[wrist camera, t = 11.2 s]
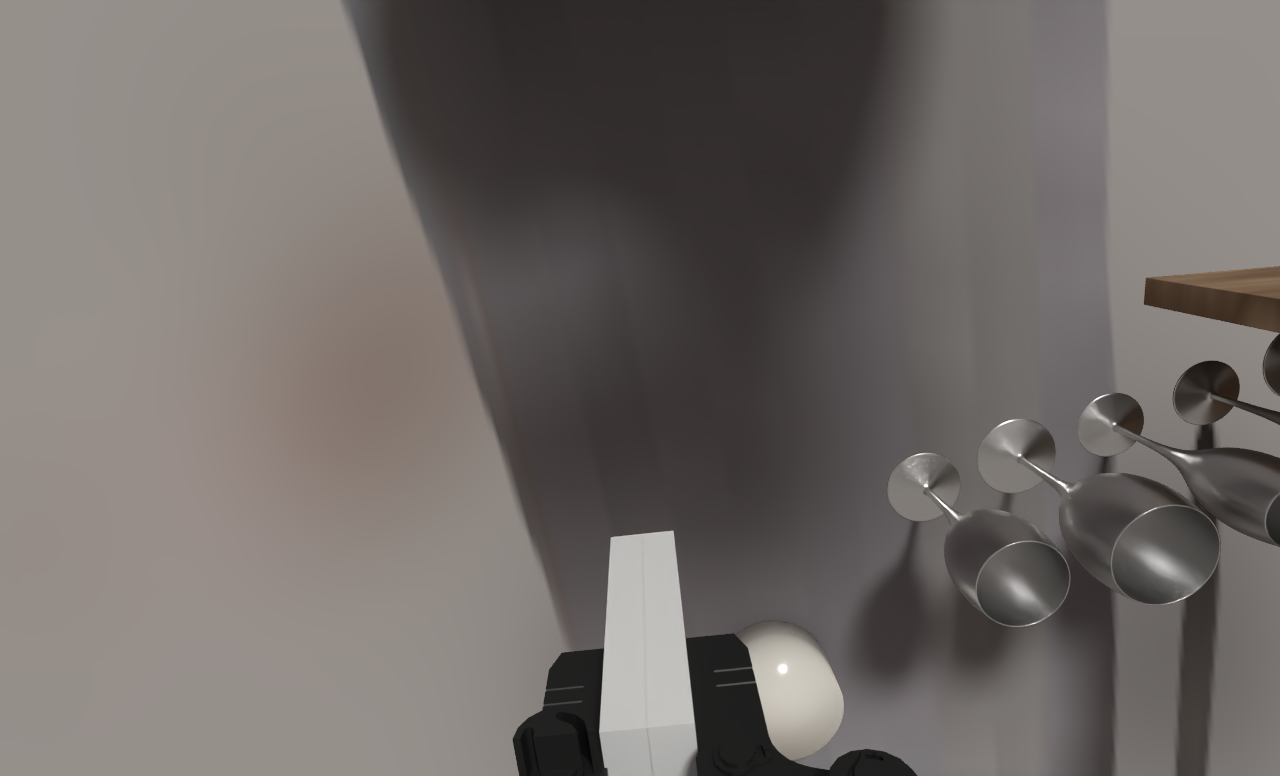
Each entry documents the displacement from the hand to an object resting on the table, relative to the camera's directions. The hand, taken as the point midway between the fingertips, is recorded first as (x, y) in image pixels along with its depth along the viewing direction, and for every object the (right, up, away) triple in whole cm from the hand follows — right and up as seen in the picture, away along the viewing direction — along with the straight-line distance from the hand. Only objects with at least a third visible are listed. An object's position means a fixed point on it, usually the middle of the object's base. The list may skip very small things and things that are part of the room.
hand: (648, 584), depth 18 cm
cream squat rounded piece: (+8, -13, +30) cm, 34 cm away
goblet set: (+28, +3, +27) cm, 39 cm away
